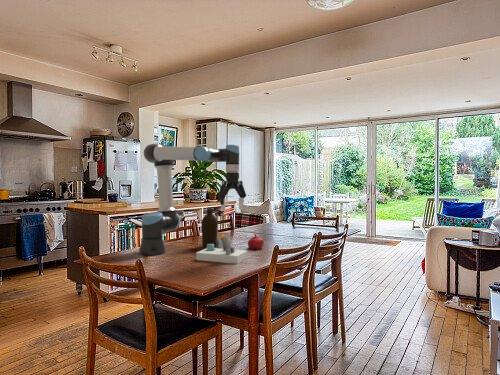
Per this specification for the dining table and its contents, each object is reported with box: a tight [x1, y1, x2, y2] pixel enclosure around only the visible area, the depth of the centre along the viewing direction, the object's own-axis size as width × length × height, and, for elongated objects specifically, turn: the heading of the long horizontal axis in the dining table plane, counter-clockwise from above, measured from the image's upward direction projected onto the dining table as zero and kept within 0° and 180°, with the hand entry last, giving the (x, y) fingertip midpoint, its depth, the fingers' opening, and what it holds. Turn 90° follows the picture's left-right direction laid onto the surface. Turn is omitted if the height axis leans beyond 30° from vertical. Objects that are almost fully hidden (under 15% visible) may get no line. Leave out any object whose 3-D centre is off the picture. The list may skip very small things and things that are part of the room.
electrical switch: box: [215, 235, 232, 249], centre depth 203 cm, size 9×5×9 cm, turn 141°
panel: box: [195, 246, 248, 265], centre depth 185 cm, size 24×14×7 cm, turn 70°
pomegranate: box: [247, 233, 264, 250], centre depth 213 cm, size 10×10×9 cm
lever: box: [218, 233, 232, 252], centre depth 180 cm, size 2×4×10 cm, turn 160°
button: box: [207, 244, 215, 251], centre depth 189 cm, size 4×4×5 cm
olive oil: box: [200, 207, 219, 249], centre depth 219 cm, size 11×11×25 cm
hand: (232, 209), depth 192 cm, fingers open, 13 cm apart
